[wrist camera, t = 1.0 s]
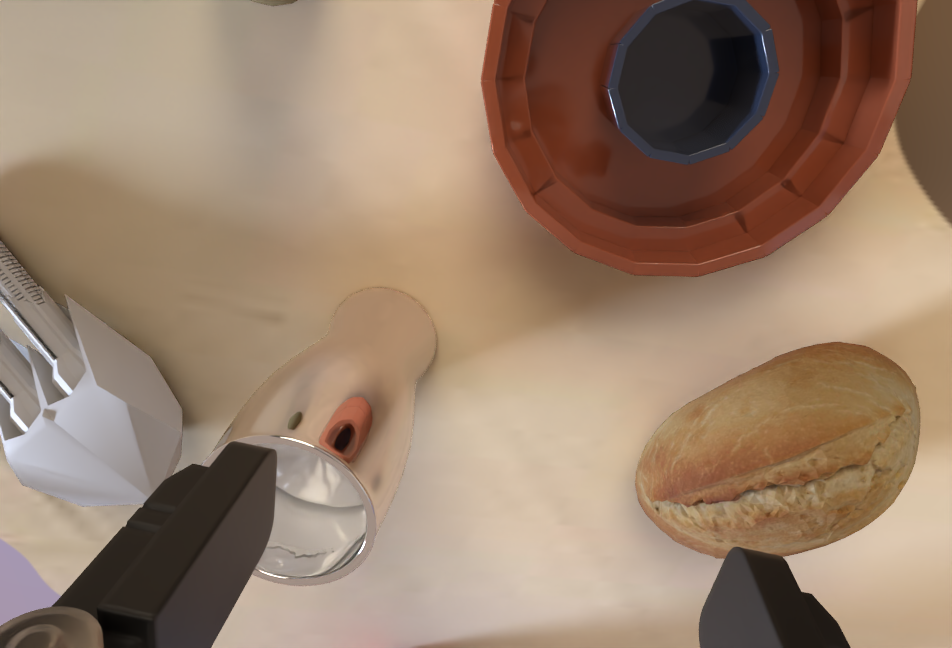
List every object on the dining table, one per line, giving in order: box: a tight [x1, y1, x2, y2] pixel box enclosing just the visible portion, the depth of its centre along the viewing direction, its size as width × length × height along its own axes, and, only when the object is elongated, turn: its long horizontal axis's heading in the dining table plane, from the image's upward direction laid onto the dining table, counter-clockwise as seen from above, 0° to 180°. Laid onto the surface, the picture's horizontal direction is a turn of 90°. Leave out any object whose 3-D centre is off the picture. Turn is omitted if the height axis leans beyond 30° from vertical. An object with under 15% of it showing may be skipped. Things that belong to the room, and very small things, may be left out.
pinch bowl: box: [599, 0, 779, 165], centre depth 26 cm, size 6×6×5 cm
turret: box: [0, 240, 182, 507], centre depth 36 cm, size 10×20×5 cm, turn 38°
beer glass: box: [201, 288, 437, 586], centre depth 28 cm, size 7×7×15 cm
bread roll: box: [635, 342, 920, 559], centre depth 31 cm, size 10×15×8 cm, turn 128°
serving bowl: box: [481, 0, 917, 277], centre depth 26 cm, size 16×16×5 cm
